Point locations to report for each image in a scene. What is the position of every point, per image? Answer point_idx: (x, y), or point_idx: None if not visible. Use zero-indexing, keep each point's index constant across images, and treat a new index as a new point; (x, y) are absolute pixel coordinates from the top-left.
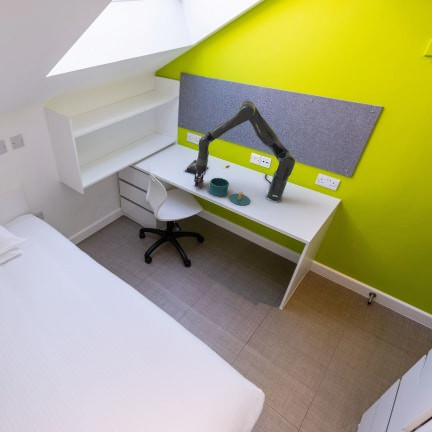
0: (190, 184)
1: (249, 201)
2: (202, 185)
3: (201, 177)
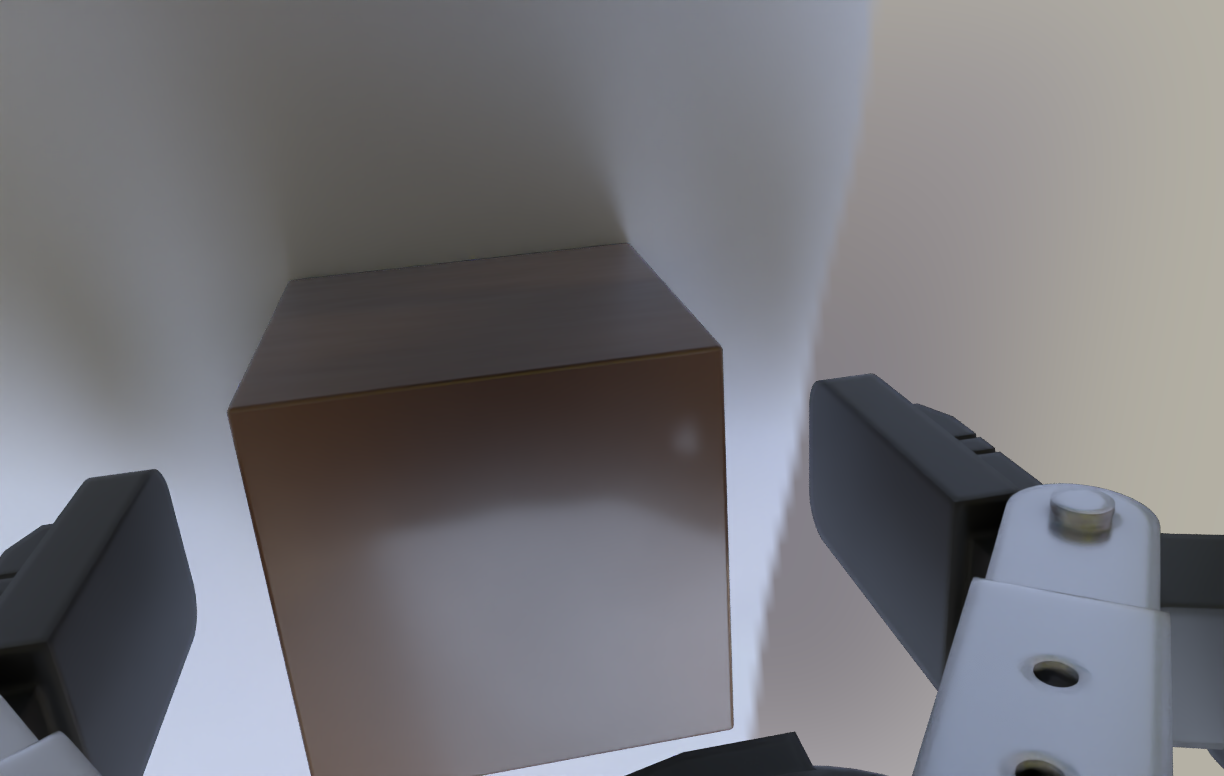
0: None
1: None
2: (360, 280)
3: (104, 712)
